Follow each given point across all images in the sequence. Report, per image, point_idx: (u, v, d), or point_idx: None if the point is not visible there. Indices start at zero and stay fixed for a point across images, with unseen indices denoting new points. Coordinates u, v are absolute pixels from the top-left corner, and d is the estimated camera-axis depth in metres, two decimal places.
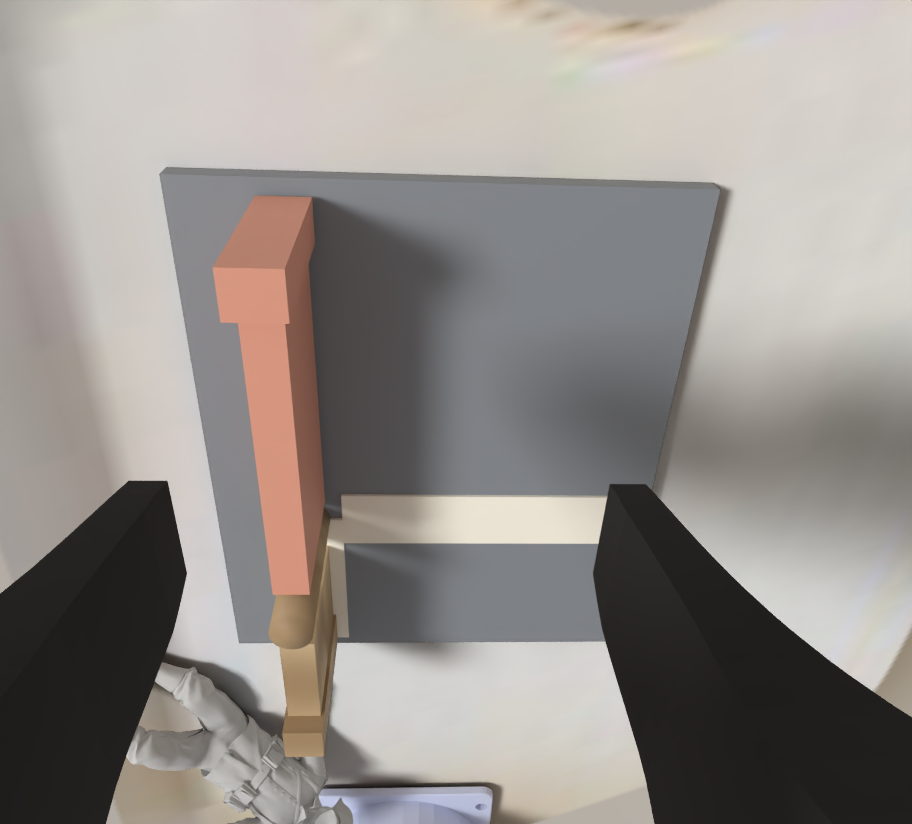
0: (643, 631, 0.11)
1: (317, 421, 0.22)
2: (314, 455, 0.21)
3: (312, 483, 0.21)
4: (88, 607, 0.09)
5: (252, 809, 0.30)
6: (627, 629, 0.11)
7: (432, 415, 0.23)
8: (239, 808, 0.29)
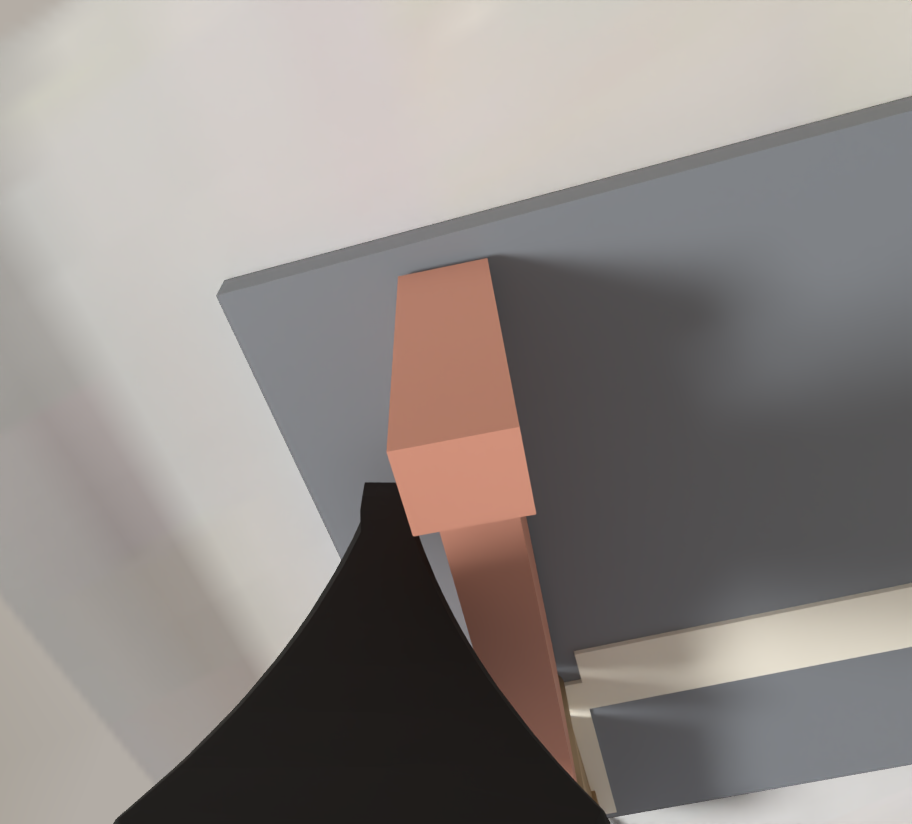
0: None
1: (537, 575, 0.15)
2: (548, 632, 0.14)
3: (556, 678, 0.14)
4: None
5: None
6: None
7: (689, 523, 0.15)
8: None
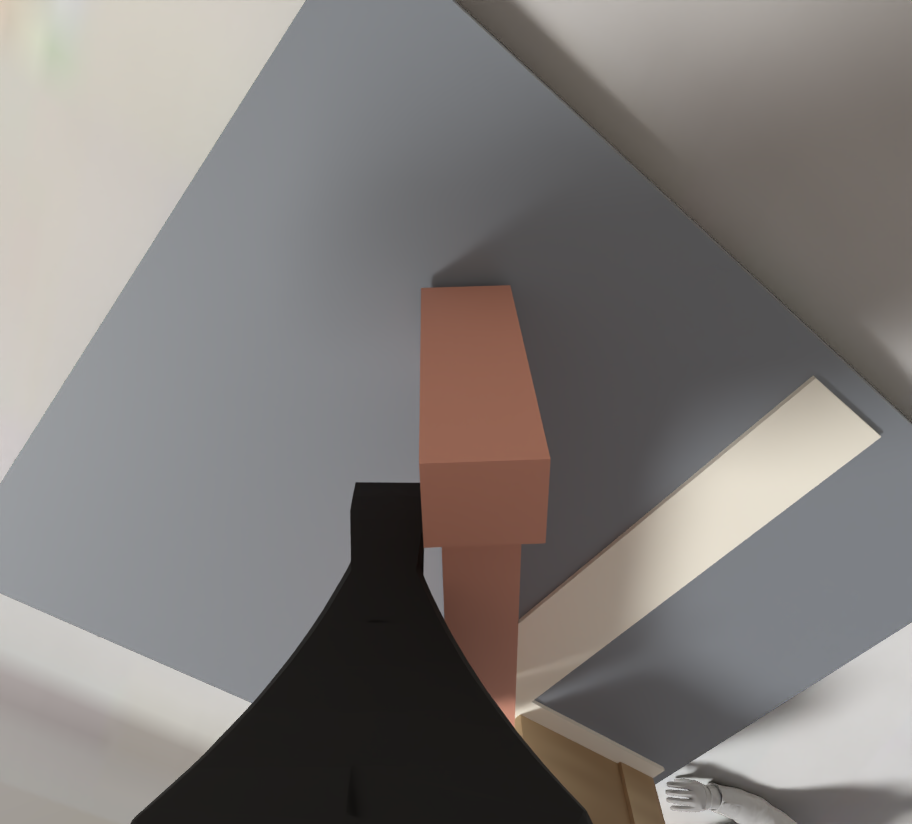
0: None
1: None
2: None
3: None
4: None
5: None
6: None
7: None
8: None
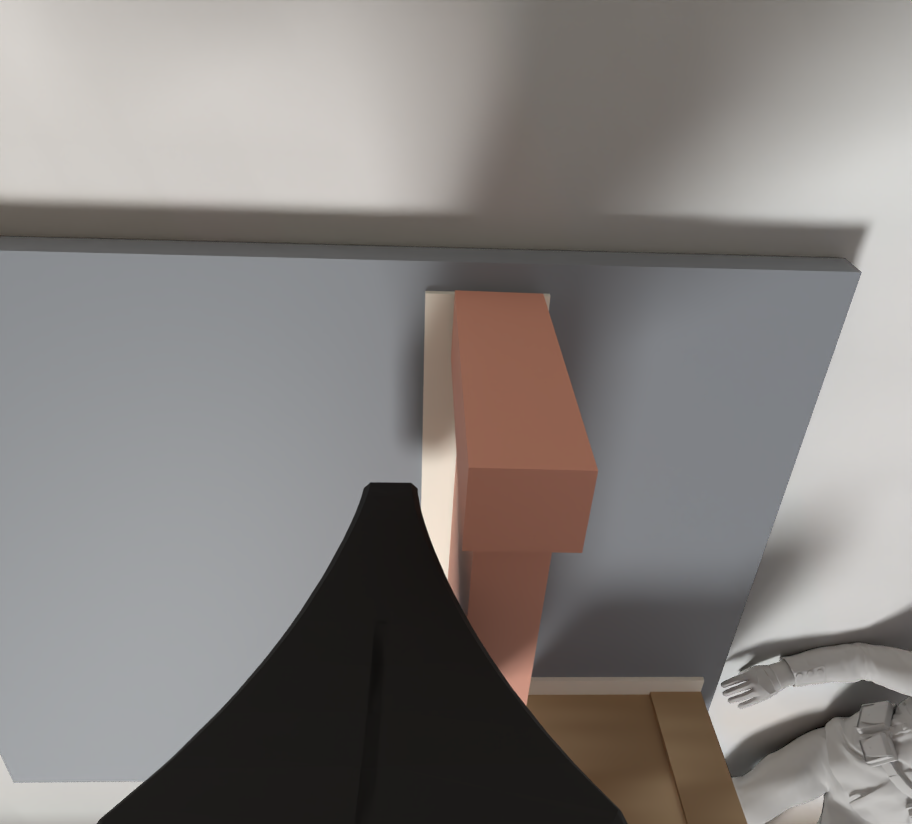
0: None
1: None
2: None
3: None
4: None
5: None
6: None
7: (270, 587, 0.16)
8: None
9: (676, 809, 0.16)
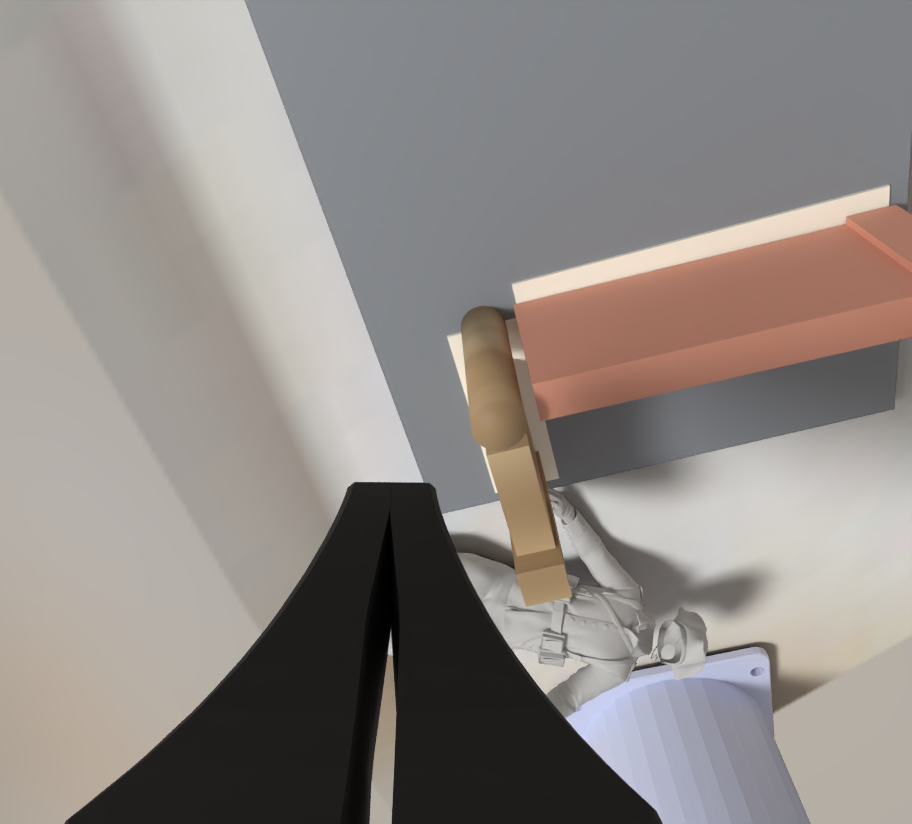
0: (396, 632, 0.11)
1: None
2: None
3: None
4: (372, 606, 0.10)
5: (572, 655, 0.24)
6: (394, 630, 0.11)
7: (601, 135, 0.18)
8: (557, 660, 0.24)
9: (547, 508, 0.20)
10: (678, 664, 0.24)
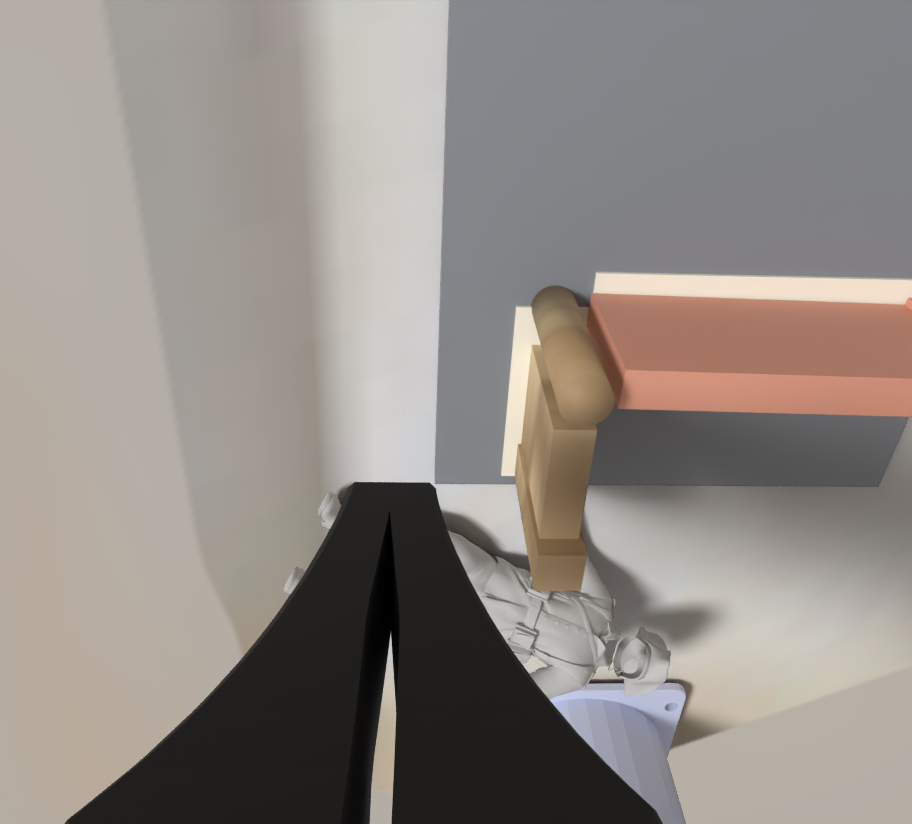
0: (395, 632, 0.11)
1: None
2: None
3: None
4: (372, 606, 0.10)
5: (538, 653, 0.24)
6: (393, 630, 0.11)
7: (731, 154, 0.18)
8: (523, 655, 0.24)
9: None
10: (636, 680, 0.25)
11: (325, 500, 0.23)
